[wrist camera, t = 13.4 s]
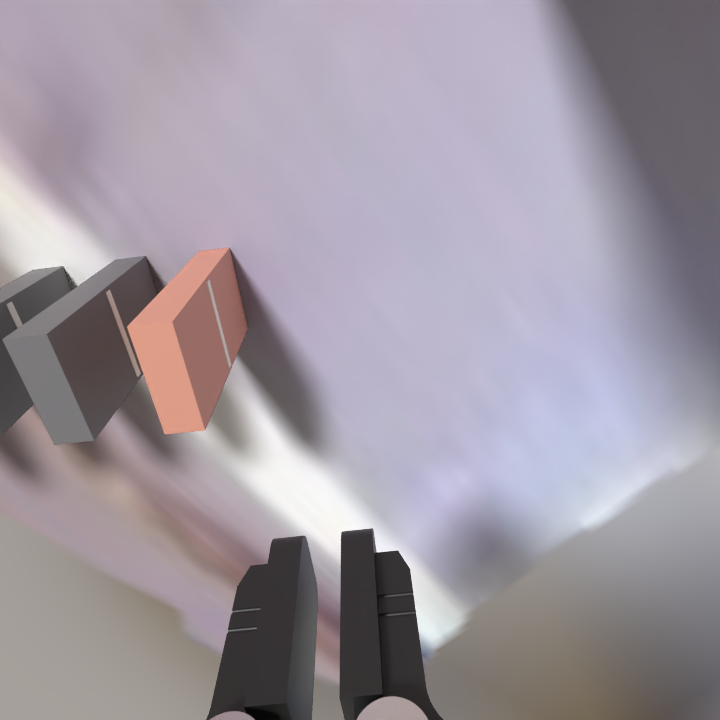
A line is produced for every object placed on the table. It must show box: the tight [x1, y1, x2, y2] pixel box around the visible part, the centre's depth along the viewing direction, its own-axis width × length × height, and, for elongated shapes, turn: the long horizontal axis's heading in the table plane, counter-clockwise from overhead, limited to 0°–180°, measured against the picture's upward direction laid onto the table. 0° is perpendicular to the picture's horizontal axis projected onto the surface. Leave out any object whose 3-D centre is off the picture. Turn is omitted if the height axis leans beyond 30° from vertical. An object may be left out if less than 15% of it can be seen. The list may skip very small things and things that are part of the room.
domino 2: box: [2, 256, 158, 445], centre depth 26 cm, size 2×5×11 cm, turn 7°
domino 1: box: [0, 266, 72, 437], centre depth 26 cm, size 2×5×11 cm, turn 7°
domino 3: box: [127, 248, 248, 434], centre depth 26 cm, size 2×5×11 cm, turn 6°
